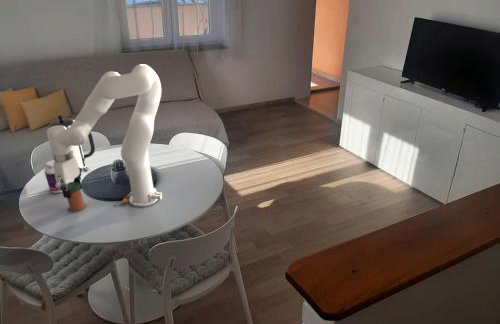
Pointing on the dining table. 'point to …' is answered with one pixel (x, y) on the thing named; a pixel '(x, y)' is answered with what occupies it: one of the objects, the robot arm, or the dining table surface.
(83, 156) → the coffee press
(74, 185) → the lid
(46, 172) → the pill bottle
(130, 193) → the key chain
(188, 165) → the dining table surface
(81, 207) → the jar
